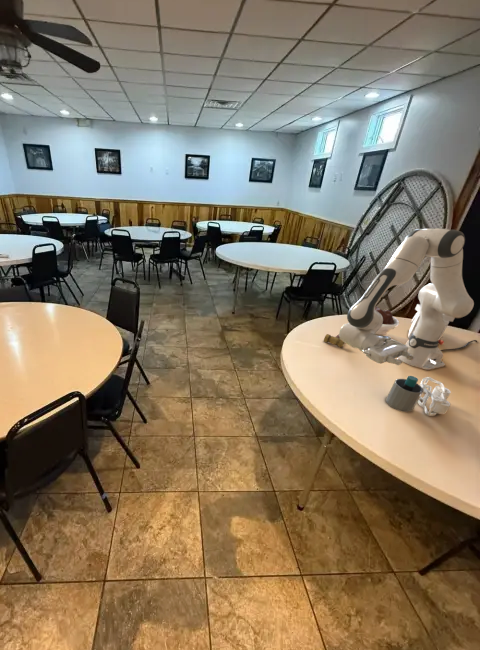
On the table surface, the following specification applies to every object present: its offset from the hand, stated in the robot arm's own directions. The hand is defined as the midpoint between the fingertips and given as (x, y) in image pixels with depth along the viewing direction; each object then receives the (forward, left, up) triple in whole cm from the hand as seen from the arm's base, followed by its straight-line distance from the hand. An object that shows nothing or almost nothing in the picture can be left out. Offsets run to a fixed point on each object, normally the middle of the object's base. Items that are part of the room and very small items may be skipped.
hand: (406, 360), depth 125 cm
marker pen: (-2, +4, -18) cm, 19 cm away
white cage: (-16, +5, -19) cm, 25 cm away
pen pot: (-2, +4, -18) cm, 19 cm away
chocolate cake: (-42, -65, -19) cm, 80 cm away
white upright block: (-74, -58, -19) cm, 96 cm away
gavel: (-11, -54, -19) cm, 59 cm away
